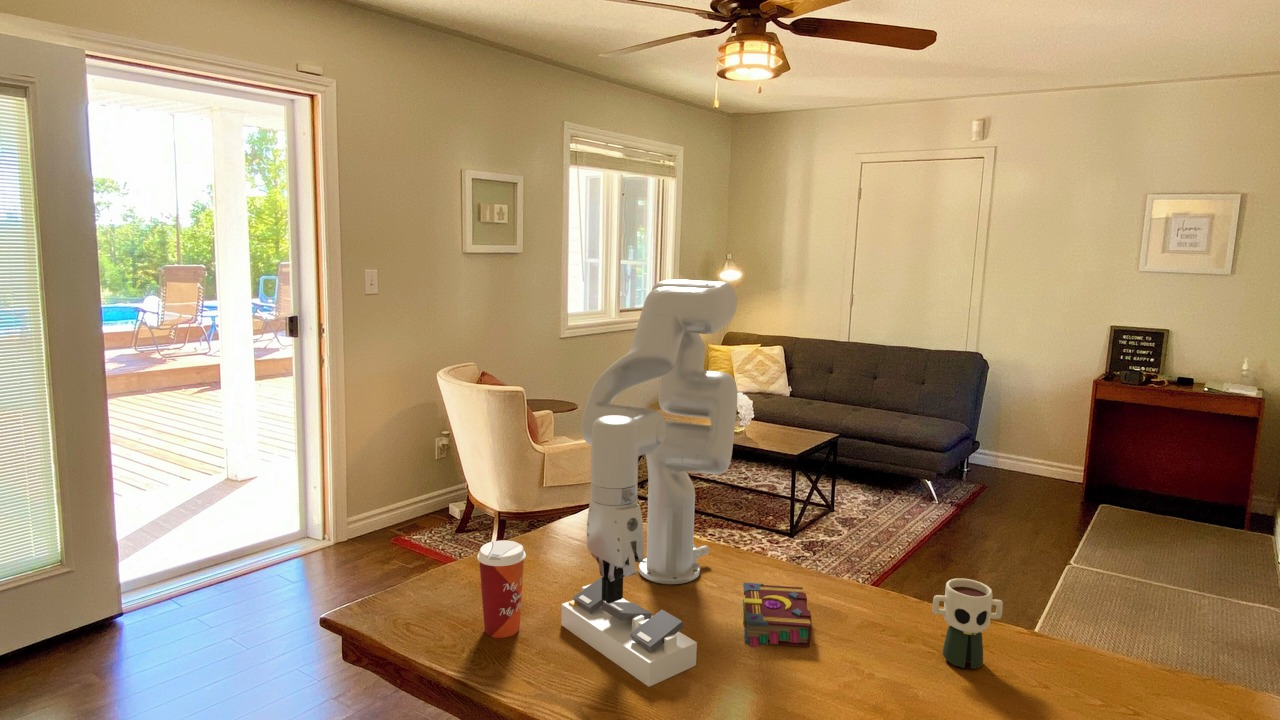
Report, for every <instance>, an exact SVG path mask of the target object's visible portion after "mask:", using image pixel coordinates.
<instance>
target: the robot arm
mask: <svg viewBox="0 0 1280 720" xmlns="http://www.w3.org/2000/svg"><path fill="white" fill-rule="evenodd" d="M737 297H738V296H737V292H736V290H735V288H734V286H733V285H732V284H731V283H730V282H727V281H718V280H717V281H716V280H715V281H714V280H713V281H712V280H695V279H665V280H661V281H658V282H656V283H655V284H654V285H653V287H652V288H651V291H649V293H648V294H647V296H646V297H645V300H644V304H643V306H642V309H641V312H640V316H639V319H638V323H637V326H636V327H635V328H636V329H635V332H634V334H633V338H632V342H631V345H630V348H629V351H628V352H627V353H626V354H625V355H623V356H621V357H620V358H618V359H617V360H616V361H614V362H613V363H612V364H611V365H609V366H608V367H607V368H606V369H605V370H604V371H603V372H602V373H601V374H600V375H599V376H598V377H597V379H596V380H595V382H594V383H593V385H592V388H591V390H590V392H589V395H588V398H587V402H586V406H585V408H584V411H583V415H582V418H581V419H582V420H581V435H582V438H583V439H584V441H585V442H586V444H588V445H590V446H591V468H590V469H591V470H590V472H591V474H590V499H589V505H588V513H587V521H586V547H587V550H588V551H589V552H590V555H591V557H593V559H595V560H596V561H597V564H598V566H599V567H598V568H599V575H600V576H601V577H602V600H603V601H606V602H607V603H612V602H615V601H618V600H621V599H622V598H623V599H624V597H623V596H624V578H626V577H632V576H634V575H636V574H637V567H636V563H639V564H638V572H639V574H640V575H641V576H642V577H643V578H645V580H648V581H650V582H653V583H657V584H662V585H681V584H685V583H686V584H687V583H689V582H693V581H694V580H696V579H697V578H698V577H699V576H700V574H701V566H700V564H699V563H698V562H697V560H699V558H700V557H702V556H705V555H709V553H710V548H709V546H708V545H702V546H698V547H697V546H696V544H694V538H695V537H694V536H695V535H694V534H695V533H694V531H695V506H696V505H695V503H696V502H695V501H696V490H695V486H694V483H693V481H692V479H691V477H690V476H689V474H688V473H687V472H689V473H690V472H691V473H699V474H706V475H721V474H724V473H725V472H726V471H728V469H729V467H730V464H731V461H732V456H733V448H734V440H735V427H736V419H737V408H738V386H737V385H738V384H737V381H736V379H735V378H734V376H732V375H731V374H729V373H728V372H723V371H719V370H718V371H715V370H705V368H704V367H705V366H704V365H705V355H706V345H705V344H706V343H705V342H704V339H703V338H702V336H701V335H714V334H717V333H719V331H721V330H722V329H723V328H725V327H726V326H727V325H729V324H730V322H731V321H733V318H734V317H735V315H736V312H737V305H738V298H737ZM657 378H659V386H658V405H659V407H660V409H661V410H662V411H663V412H664V413H667V414H670V415H677V416H683V417H692V418H693V417H694V418H701V419H702V418H703V419H708V420H710V425H709V424H699V423H692V422H684V421H675V420H674V421H673V420H666V418H665V417H664V415H663V414H662V413H660V412H659V411H657V410H655V409H653V408H646V407H636V406H629V405H621V404H612V403H613V401H614V400H615V399H616V398H617V396H619V395H620V394H621V393H623V392H624V391H626V390H627V389H629V388H631V387H633V386H637V385H639V384H640V385H641V384H643V383H646V382H648V381H651V380H654V379H657ZM644 455H645V458H646V459H645V460H646V466H647V478H648V479H647V480H648V483H647V486H648V487H647V488H648V490H647V493H648V495H647V523H646V524H647V528H646V558H644V555H645V545H644V544H645V542H644V540H645V539H644V538H645V537H644V525H643V516H642V510H641V504H639V503H638V499H639V497H638V490H639V489H638V486H639V485H638V483H639V481H638V478H639V457H640V456H644Z"/></svg>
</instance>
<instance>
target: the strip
mask: <svg viewBox="0 0 1280 720" xmlns="http://www.w3.org/2000/svg"><path fill="white" fill-rule="evenodd" d="M591 584H592V583H590V584H588V585H584V586H582V587H581V591H582V590H584V589H585V588H587V587H588V586H589V585H591ZM603 602H606V601H603ZM615 602H629V601H628V599H627V600H626V599H625V598H624V597H623V598H622V599H621V600H618V601H615ZM601 608H602V606H601V607H600V608H598V609H597V610H596V611H594V612H593V613H590V612H588V611H587V610H585V609H584V608H582V607H581V606H579V605H578V604H576V603H575V602H574V599H573V598H572V600H569V601H566V602H563V603H561V622H560V623H561V626H562V627H563V628H565V629H566V630H567V631H569V632H571V633H572V634H573V635H574V636H576V637H577V638H579V640H582V641H583V642H585V643H586V644H587V645H588V646H590V647H592V648H593V649H594V650H596V651H598V652H599V653H600V654H602V655H603V656H604V657H605V658H607V659H609V660H610V661H611V662H613V663H614V664H616V666H618V667H620V668H622V669H623V670H624V671H626V672H627V673H628V674H630V675H631V676H632V677H634V678H635V679H637V680H638V681H640V682H641V683H642V684H644V685H646V687H648V688H650V687H651V686H655V685H656V684H658V683H661V682H663V681H665V680H667V679H669V678H671V677H672V678H673V676H674V677H675V676H676V675H678V674H680V673H683V672H685V671H686V670H689V669H691V668H693V667H695V666H697V650H698V642H697V641H695V640H694V639H692V638H690V637H689V636H687V635H686V634H684V633H682V632H680V631H678V632H677V633H676V634H675V635H674V634H673V635H671V636H668V637H666V638H664V644H662V645H661V646H660V647H659V648H658V649H656V650H655V651H654V652H653V653H651V652H650V651H648V650H647V649H645V648H643V647H642V646H640V645H639V644H637V643H636V642H634V641H633V640H632V639H631V635H630V634H631V633H632V632H633V631H635V630H636V629H637V628H638V627H640V626H641V625H642V624H644V623H645V622H646V621H647V620H649V619H646V620H644V616H643V615H640V616H637V617H634V618H632V620H618V619H617V618H615V617H614V616H612V615H610V614H609V613H607V612H606V611H604V610H603V609H601ZM653 616H654V615H652V617H653Z"/></svg>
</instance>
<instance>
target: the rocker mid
mask: <svg viewBox="0 0 1280 720" xmlns="http://www.w3.org/2000/svg"><path fill="white" fill-rule="evenodd" d="M601 609H603V610H604V611H606V612H607V613H609V614H610V615H612V616H614V617H615V618H617V619H618V620H632V618H634V617H637V616H640V615H643V616H644V620H646V619H650V618H651V617H652V616H653V613H652V612H650V611H649V610H647V609H645V608H643V607H642V606H641V605H639V604H637V603H635V602H631V601H628V602H612V603H607V602H603V604H602V608H601Z"/></svg>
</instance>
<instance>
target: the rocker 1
mask: <svg viewBox="0 0 1280 720" xmlns="http://www.w3.org/2000/svg"><path fill="white" fill-rule="evenodd" d="M590 584H591V585H590ZM590 584H588V585H589V586H588V587H587V588H585V589H584V590H582V589H581V591H579V592H578V593H577V594H575V595H574V596H573V598H572V599H574V602H575V603H576V604H578V605H579V606H581V607H582V608H584V609H585V610H587V611H588V612H590V613H593V612H594V611H596V610H597V609H598V608H600V607H601V606H602V604H603V600H602V576H601V577H600V578H598V579H597V580H596V581H594V582H592V583H590Z"/></svg>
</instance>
